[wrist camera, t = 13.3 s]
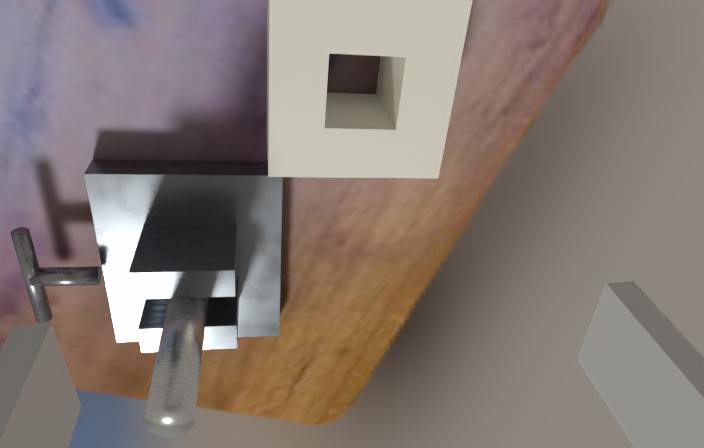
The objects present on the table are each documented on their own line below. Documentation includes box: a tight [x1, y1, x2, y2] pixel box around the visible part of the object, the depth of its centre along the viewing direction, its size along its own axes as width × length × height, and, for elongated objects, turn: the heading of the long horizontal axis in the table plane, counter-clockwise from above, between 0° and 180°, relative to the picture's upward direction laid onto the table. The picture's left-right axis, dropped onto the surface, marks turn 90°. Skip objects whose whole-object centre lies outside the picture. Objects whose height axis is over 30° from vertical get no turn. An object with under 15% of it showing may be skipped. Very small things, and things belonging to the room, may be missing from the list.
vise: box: [11, 160, 283, 437], centre depth 32 cm, size 14×16×15 cm
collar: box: [266, 0, 473, 178], centre depth 31 cm, size 10×10×6 cm
